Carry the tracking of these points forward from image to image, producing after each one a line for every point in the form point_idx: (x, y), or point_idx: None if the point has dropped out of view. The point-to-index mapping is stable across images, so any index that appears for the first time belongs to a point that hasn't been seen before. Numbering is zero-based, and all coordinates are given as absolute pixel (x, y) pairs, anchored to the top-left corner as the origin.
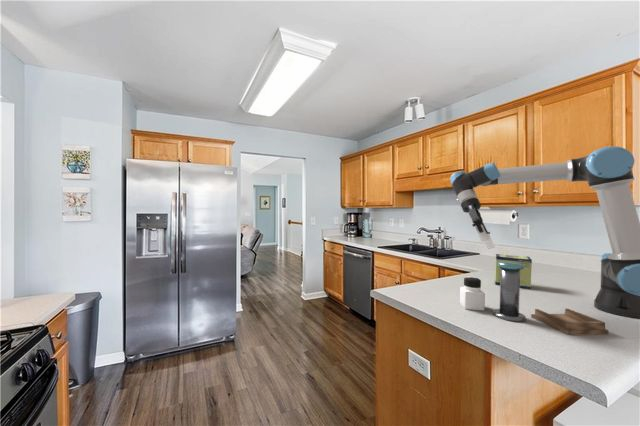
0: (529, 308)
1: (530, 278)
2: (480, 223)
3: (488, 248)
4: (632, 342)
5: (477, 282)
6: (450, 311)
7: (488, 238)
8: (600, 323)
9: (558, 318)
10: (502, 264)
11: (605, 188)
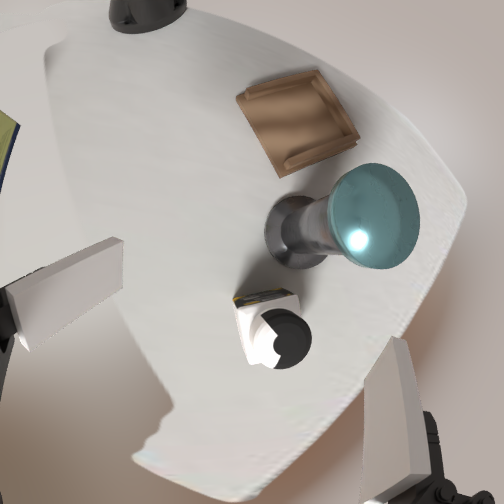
0: (198, 159)
1: (4, 114)
2: (446, 484)
3: (122, 284)
4: (332, 67)
5: (307, 325)
6: (320, 365)
7: (406, 342)
8: (322, 78)
9: (341, 142)
10: (406, 255)
11: None
